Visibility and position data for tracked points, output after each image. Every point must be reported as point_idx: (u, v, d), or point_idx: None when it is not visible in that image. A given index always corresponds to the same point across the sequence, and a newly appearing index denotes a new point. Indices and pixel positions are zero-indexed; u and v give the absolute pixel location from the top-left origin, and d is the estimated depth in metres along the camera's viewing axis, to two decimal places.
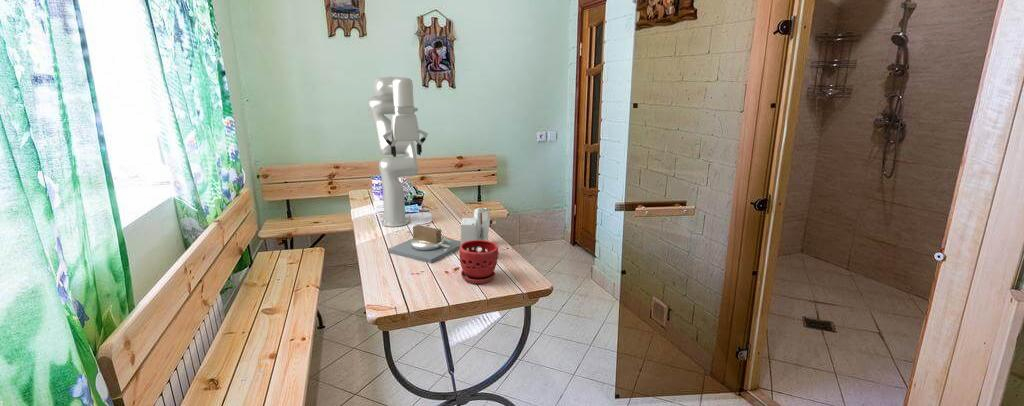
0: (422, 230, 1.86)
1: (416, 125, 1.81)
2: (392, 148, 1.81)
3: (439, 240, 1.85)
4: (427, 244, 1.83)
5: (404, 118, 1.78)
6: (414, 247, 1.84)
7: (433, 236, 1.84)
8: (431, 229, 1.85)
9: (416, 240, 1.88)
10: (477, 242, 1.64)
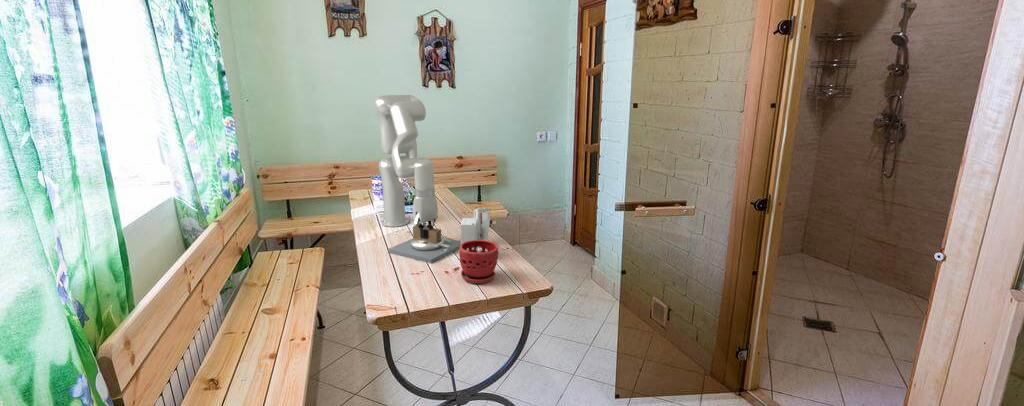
0: None
1: (436, 204, 1.87)
2: (424, 231, 1.84)
3: (439, 240, 1.85)
4: (427, 244, 1.83)
5: (429, 200, 1.82)
6: (414, 247, 1.84)
7: (433, 236, 1.84)
8: (431, 229, 1.85)
9: (416, 240, 1.88)
10: (477, 242, 1.64)
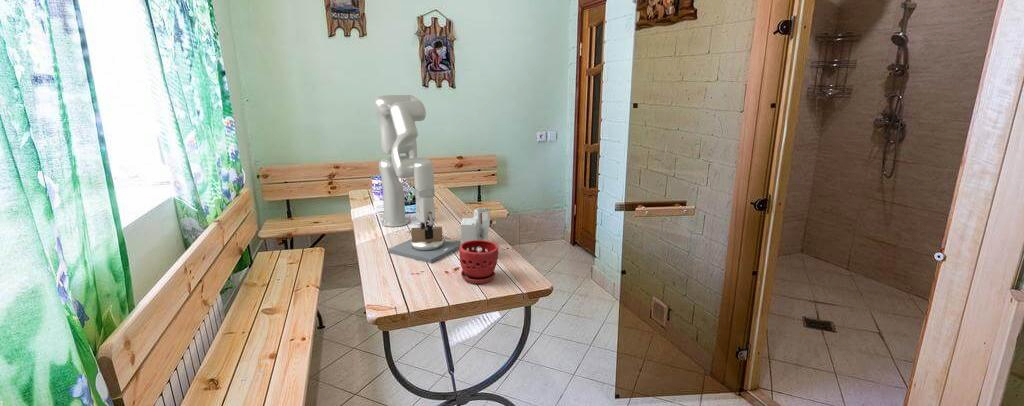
0: (424, 231, 1.85)
1: None
2: None
3: (442, 237, 1.89)
4: (435, 242, 1.85)
5: None
6: (424, 248, 1.82)
7: (438, 234, 1.87)
8: (433, 228, 1.87)
9: (418, 242, 1.85)
10: (477, 242, 1.64)
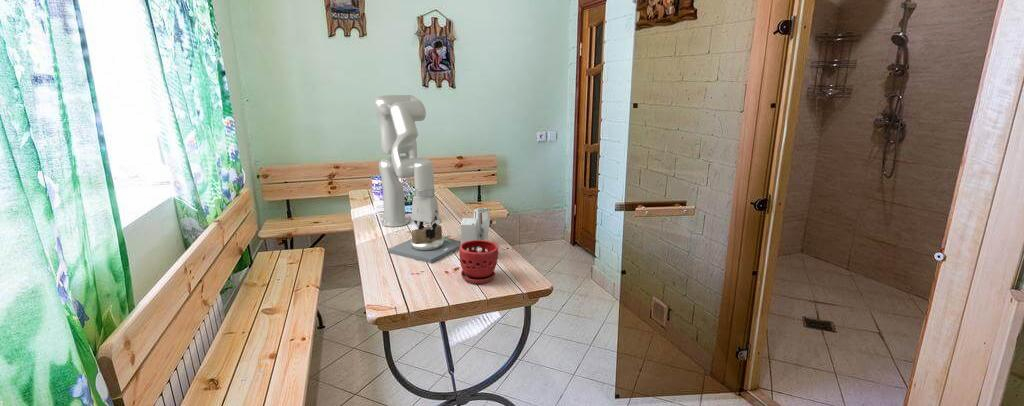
0: (426, 231, 1.85)
1: None
2: None
3: None
4: (439, 240, 1.88)
5: None
6: (433, 248, 1.83)
7: (438, 231, 1.89)
8: None
9: (423, 243, 1.84)
10: (477, 242, 1.64)
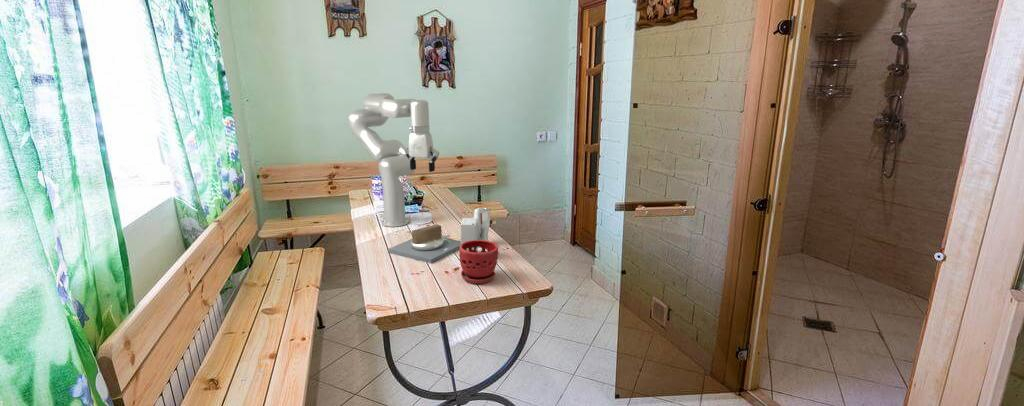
0: (427, 231, 1.85)
1: None
2: None
3: None
4: (440, 240, 1.88)
5: None
6: (434, 247, 1.83)
7: (438, 231, 1.90)
8: (432, 226, 1.88)
9: (424, 243, 1.84)
10: (477, 242, 1.64)
